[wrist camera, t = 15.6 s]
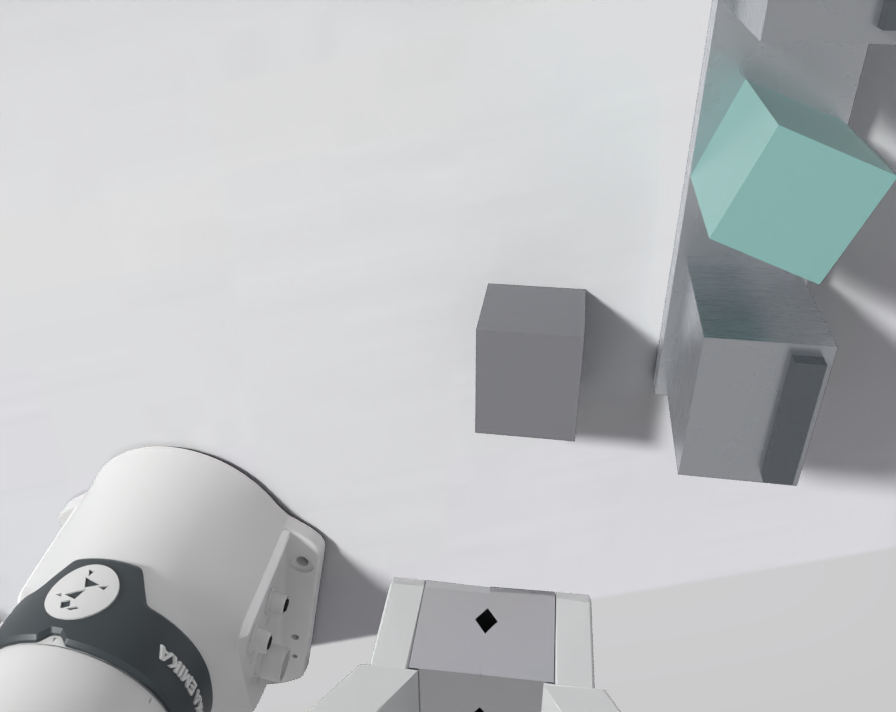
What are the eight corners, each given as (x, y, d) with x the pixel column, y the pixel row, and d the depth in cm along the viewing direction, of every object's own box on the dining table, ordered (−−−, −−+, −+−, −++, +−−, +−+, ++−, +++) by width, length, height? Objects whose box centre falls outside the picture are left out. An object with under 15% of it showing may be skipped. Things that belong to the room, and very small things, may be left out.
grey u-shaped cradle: (770, 388, 41) (809, 505, 34) (653, 378, 42) (665, 490, 35) (923, -224, 28) (1047, -261, 20) (746, -221, 29) (801, -254, 21)
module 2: (782, 215, 35) (819, 284, 29) (690, 176, 35) (709, 238, 29) (843, 121, 33) (898, 176, 27) (745, 79, 32) (778, 124, 27)
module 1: (576, 386, 43) (574, 441, 39) (486, 379, 44) (475, 432, 40) (585, 288, 40) (584, 337, 36) (488, 282, 41) (476, 329, 37)
